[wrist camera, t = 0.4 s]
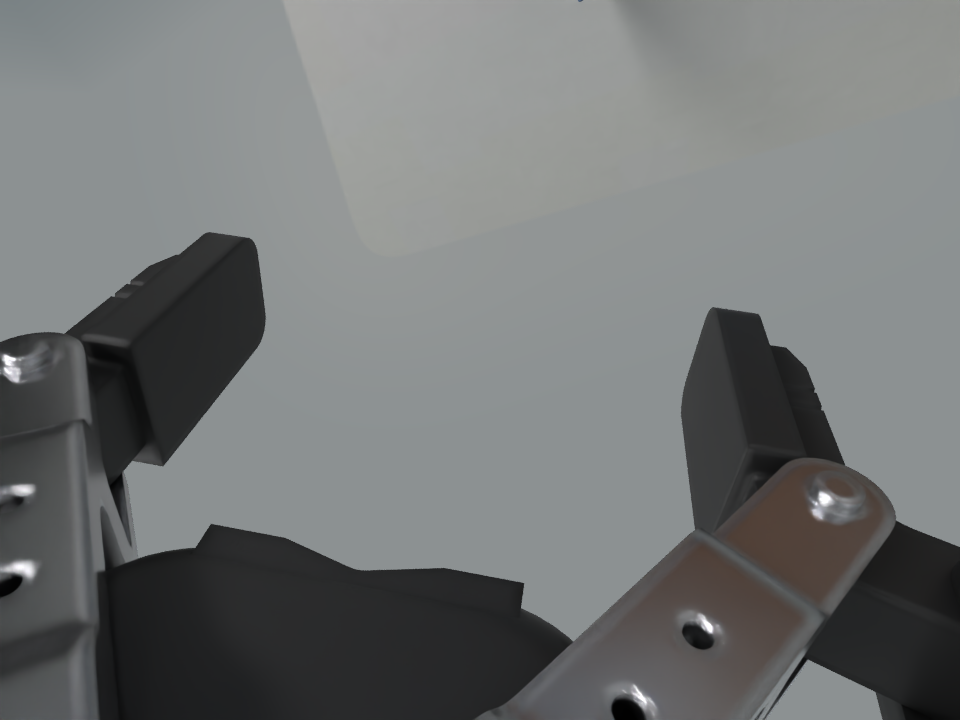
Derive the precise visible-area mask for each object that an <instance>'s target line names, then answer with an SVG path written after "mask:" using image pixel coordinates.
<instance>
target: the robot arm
mask: <svg viewBox="0 0 960 720" xmlns="http://www.w3.org/2000/svg"><path fill="white" fill-rule="evenodd" d="M265 317H266V316H265V308H264V299H263V291H262V283H261V276H260V268H259V261H258V254H257V249H256V245H255V243H254V242H253V241H252V240H251V239H250V238H245V237H238V236H231V235H225V234H218V233H211V232H209V233H205V234H204V235H203V236H201V237H200V238H199V239H198V240H196V241H195V242H194V243H193V244H192V245H190V246H189V247H188V248H187V249H186V250H184V251H183V252H182V253H181V254H179V255H175V256H172V257H170V258H168V259H165V260H163V261H160V262H158V263H155V264H153V265H151V266H149V267H148V268H146V269H145V270H144V271H142V272H141V273H140V274H139V275H138V276H136V277H135V278H134V279H132V280H131V284H126V285H125V286H124V287H122V288H121V289H120V290H119V291H117V292H116V293H115V297H112V296H111V297H110V298H109V299H107V300H106V301H105V302H104V303H102V304H101V305H100V306H99V307H98V308H96V309H95V310H94V311H92V312H91V313H90V314H88V315H87V316H86V317H85V318H84V319H82V320H81V321H80V322H78V323H77V324H76V325H75V326H73V327H72V328H71V329H70V330H68V331H67V332H66V333H65V334H62V333H51V332H44V333H32V334H26V335H21V336H17V337H14V338H10V339H8V340H5V341H2V342H0V720H766V719H767V718H768V716H769V715H770V714H771V712H772V711H773V710H774V708H775V707H776V705H777V704H778V703H779V701H780V700H781V698H782V697H783V696H784V694H785V693H786V691H787V690H788V689H789V687H790V686H791V684H792V683H793V682H794V680H795V679H796V677H797V676H798V674H799V673H800V672H801V670H802V669H803V667H804V666H805V665H806V663H807V662H808V660H810V661H812V662H814V663H817V664H819V665H821V666H823V667H825V668H827V669H829V670H831V671H833V672H835V673H837V674H840V675H842V676H844V677H846V678H848V679H850V680H852V681H854V682H856V683H858V684H861V685H863V686H865V687H867V688H869V689H871V690H873V691H875V692H876V695H877V699H878V703H879V707H880V711H881V715H882V719H883V720H960V547H958V546H955V545H953V544H950V543H948V542H945V541H943V540H940V539H937V538H935V537H932V536H930V535H927V534H925V533H922V532H920V531H917V530H914V529H912V528H910V527H908V526H905V525H903V524H901V523H900V522H898V521H896V515H895V510H894V508H893V505H892V504H891V502H890V500H889V499H888V497H887V496H886V495H885V493H884V492H883V491H882V490H881V489H880V488H879V487H878V486H877V485H876V484H875V483H873V482H872V481H871V480H869V479H868V478H867V477H865V476H863V475H862V474H860V473H859V472H857V471H855V470H853V469H851V468H849V467H847V466H845V463H844V461H843V459H842V456H841V453H840V451H839V449H838V446H837V443H836V441H835V438H834V436H833V433H832V431H831V428H830V426H829V423H828V421H827V418H826V416H825V413H824V411H822V410H821V407H822V406H821V403H820V401H819V398H818V396H817V393H814V390H815V388H814V385H813V383H812V381H811V378H810V375H809V373H808V371H807V368H806V367H805V366H804V365H803V364H802V363H801V362H800V361H799V360H798V359H797V358H796V357H795V356H794V355H793V354H792V353H791V352H790V351H789V350H788V349H787V348H784V347H778V346H771V345H770V344H769V341H768V338H767V335H766V332H765V330H764V326H763V324H762V320H761V318H760V316H759V315H758V314H755V313H748V312H742V311H735V310H728V309H721V308H714V307H713V308H711V309H710V311H709V312H708V314H707V317H706V320H705V323H704V325H703V329H702V332H701V335H700V338H699V341H698V344H697V347H696V351H695V354H694V357H693V360H692V363H691V367H690V370H689V373H688V376H687V379H686V382H685V387H684V392H683V397H682V406H681V417H682V425H683V434H684V442H685V451H686V459H687V467H688V475H689V484H690V492H691V500H692V508H693V516H694V525H695V531H693V532H692V533H690V534H689V535H688V536H687V537H686V538H685V539H684V540H683V541H681V542H680V543H679V544H678V545H677V546H676V547H675V548H674V549H673V550H672V551H671V552H670V553H669V554H667V555H666V556H665V557H664V558H663V559H662V560H661V561H660V562H659V563H658V564H657V565H656V566H654V567H653V568H652V569H651V570H650V571H649V572H648V573H647V574H646V575H645V576H644V577H643V578H642V579H640V581H638V582H637V583H636V584H635V585H634V586H633V587H632V588H631V589H630V590H629V591H628V592H626V593H625V594H624V595H623V596H622V597H621V598H620V599H619V600H618V601H617V602H616V603H615V604H614V605H613V606H611V607H610V608H609V609H608V610H607V611H606V612H605V613H604V614H603V615H602V616H601V617H600V618H599V619H597V620H596V621H595V622H594V623H593V624H592V625H591V626H590V627H589V628H588V629H587V630H586V631H584V632H583V633H582V634H581V635H580V636H579V637H578V638H577V639H576V640H575V641H574V642H573V641H572V640H571V639H570V638H569V637H567V636H566V635H565V634H563V633H562V632H561V631H560V630H558V629H557V628H556V627H554V626H553V625H551V624H550V623H548V622H546V621H544V620H543V619H541V618H540V617H538V616H536V615H534V614H532V613H530V612H528V611H526V610H523V609H521V603H522V595H523V588H524V583H521V582H515V581H509V580H505V579H499V578H494V577H488V576H483V575H478V574H473V573H468V572H462V571H457V570H452V569H446V568H433V569H402V570H371V571H364V570H363V571H361V570H356V569H353V568H350V567H348V566H345V565H343V564H341V563H339V562H337V561H334V560H332V559H330V558H328V557H326V556H323V555H321V554H319V553H317V552H315V551H312V550H310V549H308V548H306V547H304V546H302V545H299V544H297V543H295V542H293V541H291V540H289V539H286V538H282V537H277V536H272V535H267V534H261V533H256V532H251V531H245V530H240V529H235V528H229V527H224V526H219V525H214V524H211V525H210V526H209V528H208V529H207V531H206V532H205V534H204V536H203V537H202V539H201V540H200V542H199V543H198V545H197V546H196V548H187V549H179V550H172V551H165V552H161V553H157V554H152V555H148V556H145V557H142V558H139V559H138V552H137V545H136V538H135V531H134V524H133V518H132V511H131V504H130V497H129V490H128V484H127V481H126V477H125V474H124V470H125V469H126V467H127V466H128V465H129V464H130V463H131V461H136V462H142V463H147V464H153V465H158V466H164V465H165V463H166V462H167V461H168V460H169V458H170V457H171V456H172V455H173V453H174V452H175V451H176V450H177V448H178V447H179V446H180V445H181V443H182V442H183V441H184V439H185V438H186V437H187V436H188V434H189V433H190V432H191V430H192V429H193V428H194V427H195V426H196V424H197V423H198V421H200V419H201V418H202V417H203V415H204V414H205V413H206V412H207V410H208V409H209V408H210V407H211V405H212V404H213V403H214V402H215V400H216V399H217V398H218V397H219V395H220V394H221V393H222V391H223V390H224V389H225V388H226V386H227V385H228V384H229V383H230V381H231V380H232V379H233V378H234V376H235V375H236V374H237V373H238V371H239V370H240V369H241V367H242V366H243V365H244V364H245V362H246V361H247V360H248V359H249V357H250V356H251V355H252V353H253V352H254V351H255V350H256V349H257V347H258V345H259V344H260V342H261V339H262V337H263V333H264V328H265V319H266V318H265Z"/></svg>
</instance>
